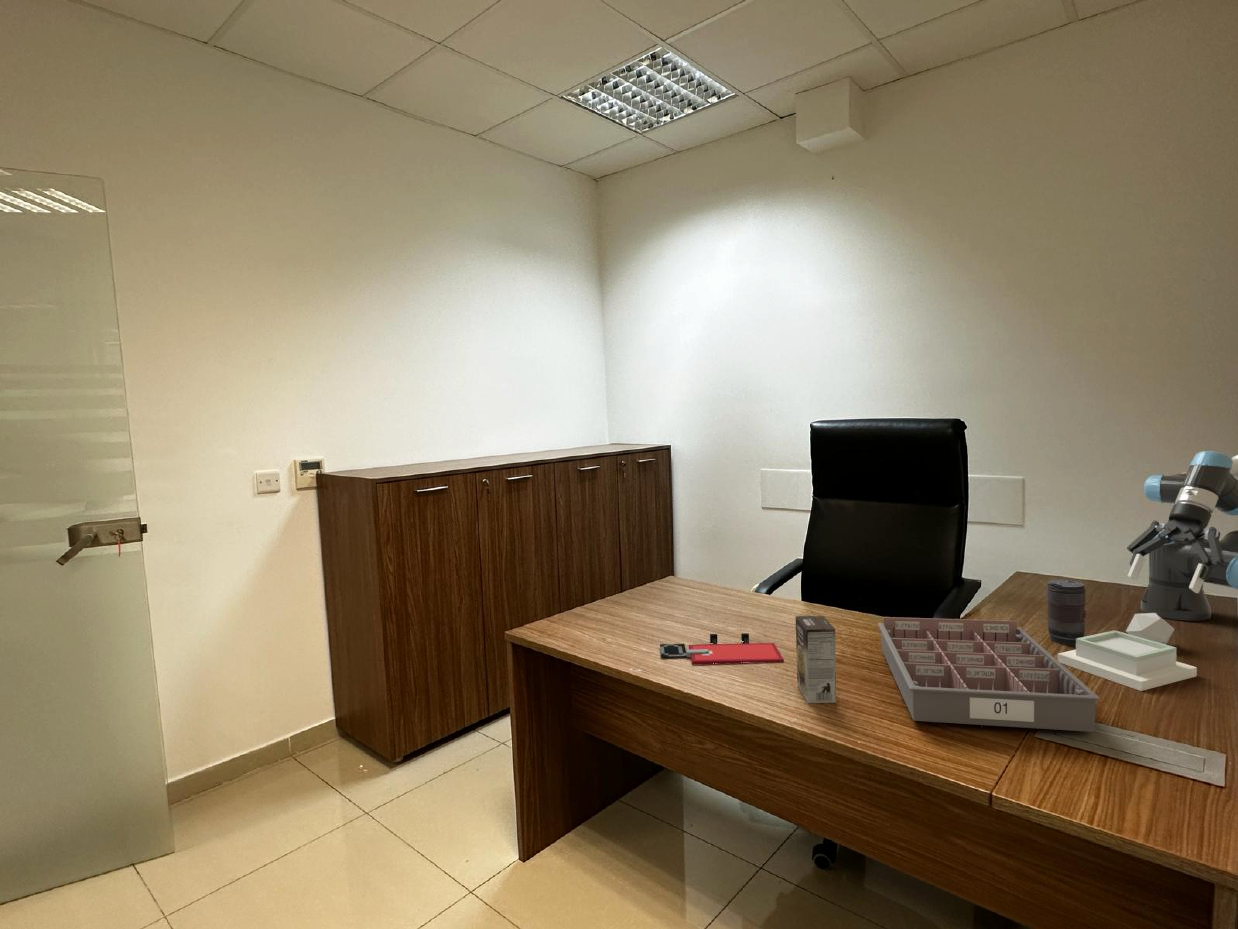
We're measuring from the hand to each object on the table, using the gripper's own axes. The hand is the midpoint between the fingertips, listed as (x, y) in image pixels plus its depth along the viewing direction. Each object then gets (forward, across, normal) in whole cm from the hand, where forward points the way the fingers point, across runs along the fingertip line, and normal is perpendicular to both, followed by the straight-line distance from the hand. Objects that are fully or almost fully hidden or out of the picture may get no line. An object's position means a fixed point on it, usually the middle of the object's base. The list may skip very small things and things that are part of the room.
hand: (1161, 584), depth 160 cm
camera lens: (+22, -12, -6) cm, 26 cm away
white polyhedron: (+14, -1, +6) cm, 16 cm away
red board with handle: (+68, -42, -76) cm, 110 cm away
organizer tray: (+47, +1, -44) cm, 64 cm away
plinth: (+25, +6, -11) cm, 28 cm away
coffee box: (+64, -11, -70) cm, 95 cm away
